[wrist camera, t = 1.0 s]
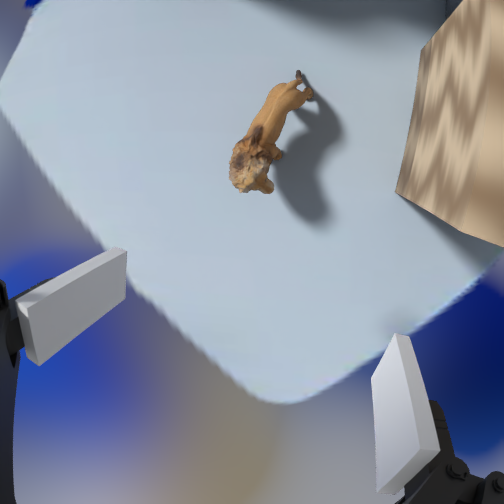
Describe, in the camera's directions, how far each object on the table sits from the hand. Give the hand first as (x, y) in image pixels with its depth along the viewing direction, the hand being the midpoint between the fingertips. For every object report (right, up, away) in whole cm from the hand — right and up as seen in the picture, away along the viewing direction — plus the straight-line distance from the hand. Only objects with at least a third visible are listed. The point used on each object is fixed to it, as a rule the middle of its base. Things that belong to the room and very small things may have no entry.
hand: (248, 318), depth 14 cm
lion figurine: (+3, +17, +21) cm, 27 cm away
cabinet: (+25, +16, +15) cm, 33 cm away
